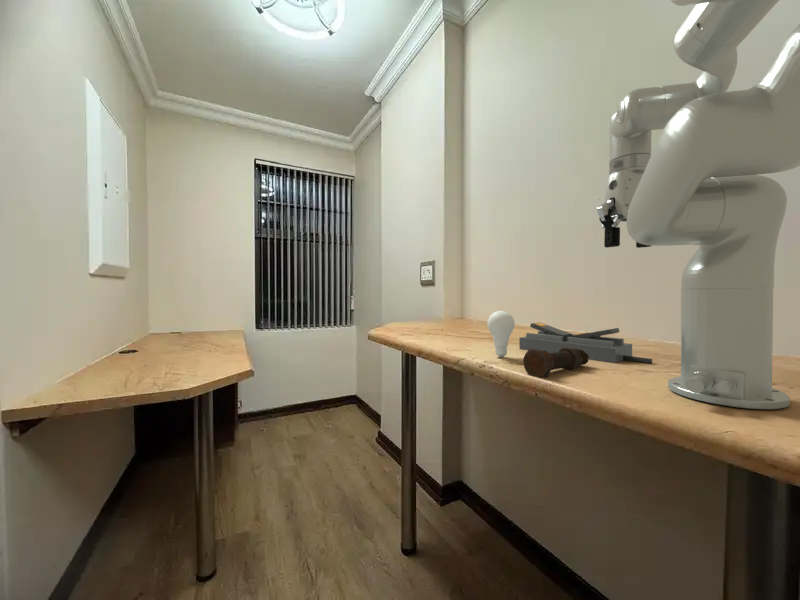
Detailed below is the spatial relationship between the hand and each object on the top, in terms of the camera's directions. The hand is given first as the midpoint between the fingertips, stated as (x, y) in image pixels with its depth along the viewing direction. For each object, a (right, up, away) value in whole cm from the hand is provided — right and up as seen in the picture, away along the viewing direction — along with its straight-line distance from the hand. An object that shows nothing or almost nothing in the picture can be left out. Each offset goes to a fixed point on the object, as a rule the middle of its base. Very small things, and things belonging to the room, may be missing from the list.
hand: (628, 246), depth 74 cm
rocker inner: (-5, -20, +4) cm, 21 cm away
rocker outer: (-12, -20, +13) cm, 26 cm away
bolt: (-19, -26, -9) cm, 34 cm away
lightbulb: (-27, -26, +5) cm, 37 cm away
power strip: (-7, -25, +6) cm, 26 cm away
